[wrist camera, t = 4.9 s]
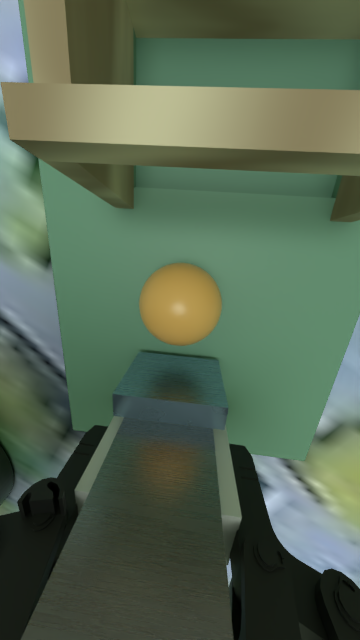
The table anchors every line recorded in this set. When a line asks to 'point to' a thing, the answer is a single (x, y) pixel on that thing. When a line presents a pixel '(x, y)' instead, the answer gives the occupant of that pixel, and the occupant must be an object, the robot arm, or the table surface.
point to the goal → (179, 96)
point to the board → (215, 254)
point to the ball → (180, 304)
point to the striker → (149, 518)
